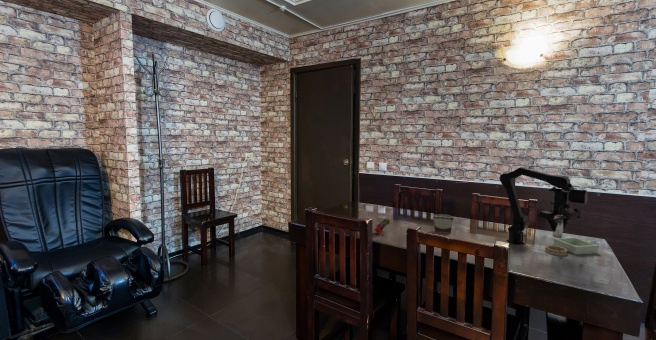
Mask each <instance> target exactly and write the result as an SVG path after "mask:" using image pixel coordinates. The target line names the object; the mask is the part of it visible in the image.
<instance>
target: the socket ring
mask: <svg viewBox="0 0 656 340" xmlns="http://www.w3.org/2000/svg"><path fill="white" fill-rule="evenodd" d="M544 251H545V252H546V253H549V254H550V255H556V256H567V255H568V251H567V249H566V248H563V247H561V246H555V245H553V244H548V245H545V249H544Z"/></svg>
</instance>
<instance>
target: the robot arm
mask: <svg viewBox="0 0 656 340" xmlns="http://www.w3.org/2000/svg"><path fill="white" fill-rule="evenodd" d="M521 176H525V177H528V178H532V179H534V180H535V179H536V180H537V181H543V182H545V183H548V185H551V186H552V187H551V188H550V189H548V191H549V192H553V200H552V201H550V204H551V205H552V209H550V211H548V210H541V211H539V212H538V215H537V216H538V217H539V218H542V219H545V220H547V222H548V223H549V226H550V229H551V230H552V232H553V231H554V232H555V230H556V223H557V221H558V220H559V219H557V217H562V218H564V223H563V231H564V229H566V228H565V227H566V226H567V225H568V223H569V222H570V221H573V220H577V219H581V209H580V208H577V207H575V208H572V207H570V206H571V205H570V203H573V204H580V205H581V204H582V205H587V203H588V200H589V197H588V196H589V195H588V190H587V189H578V188H577V189H576V188H575V187H574V186H573V184H572V183H571V179H570V177H568V176H566V175H561V174H550V173H546V172H541V171H538V170H535V169H531V168H527V167H525V166H521V167H518V168H516V169H515V170H513V171H510V172H509V171H508V172H504V173H501V174H500V176H499V181H500V184H501V186H502V187H504V189H505V191H506V195H507V198H508V202H509V205H510V209H511V213H512V220H511V221H512V225H511V226H508V227H507V230H508V239H506V241H507V242H508V243H511V244H513V245H525V244H526V243H525V242H524V237H525V233H524V231H525V230H526V229H528V227H529V225H530V223H531V222H530V220H529V217H528V215H525V214H524V213H523V210H522V207H521V204H520V201H519V197H518V194H517V190H516V179H517V178H519V177H521ZM568 200H569V202H570V203H568Z"/></svg>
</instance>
